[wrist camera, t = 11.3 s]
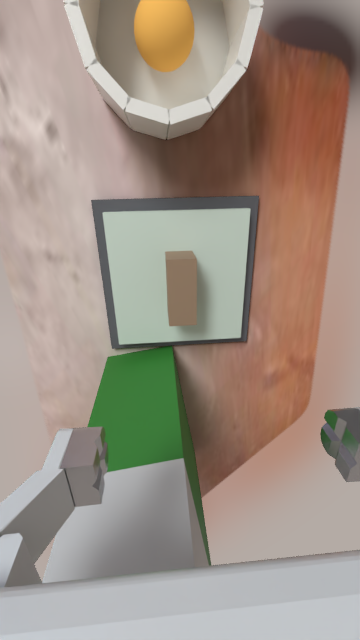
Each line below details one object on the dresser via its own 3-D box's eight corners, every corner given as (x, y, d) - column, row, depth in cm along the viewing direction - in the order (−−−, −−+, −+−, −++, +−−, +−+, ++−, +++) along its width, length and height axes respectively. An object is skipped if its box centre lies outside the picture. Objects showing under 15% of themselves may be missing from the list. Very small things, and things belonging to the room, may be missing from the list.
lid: (104, 211, 25) (94, 215, 21) (247, 207, 26) (264, 211, 22) (120, 340, 31) (114, 362, 27) (238, 333, 31) (250, 354, 27)
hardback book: (194, 452, 40) (241, 774, 18) (142, 462, 40) (125, 795, 18) (171, 345, 32) (204, 669, 10) (107, 357, 32) (5, 705, 10)
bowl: (157, -105, 18) (158, -231, 13) (263, 53, 22) (298, 7, 17) (58, 51, 21) (24, 2, 16) (167, 168, 25) (170, 161, 19)
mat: (92, 199, 25) (91, 200, 25) (256, 195, 26) (258, 196, 26) (112, 345, 32) (112, 348, 31) (244, 338, 32) (246, 341, 32)
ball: (161, -8, 19) (163, -54, 16) (202, 46, 21) (212, 15, 17) (124, 45, 20) (117, 14, 17) (165, 94, 22) (167, 74, 18)
